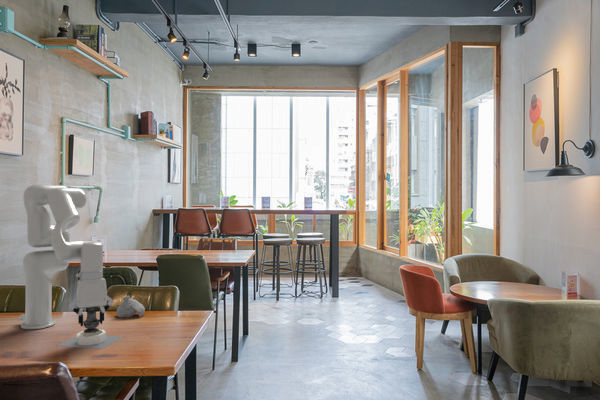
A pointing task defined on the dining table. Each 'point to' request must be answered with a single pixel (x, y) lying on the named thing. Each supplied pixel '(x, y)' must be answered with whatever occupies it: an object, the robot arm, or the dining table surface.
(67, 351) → the dining table surface
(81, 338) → the white round dish
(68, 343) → the board
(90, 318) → the dark grey chess piece
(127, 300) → the grey clay mound
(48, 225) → the robot arm
